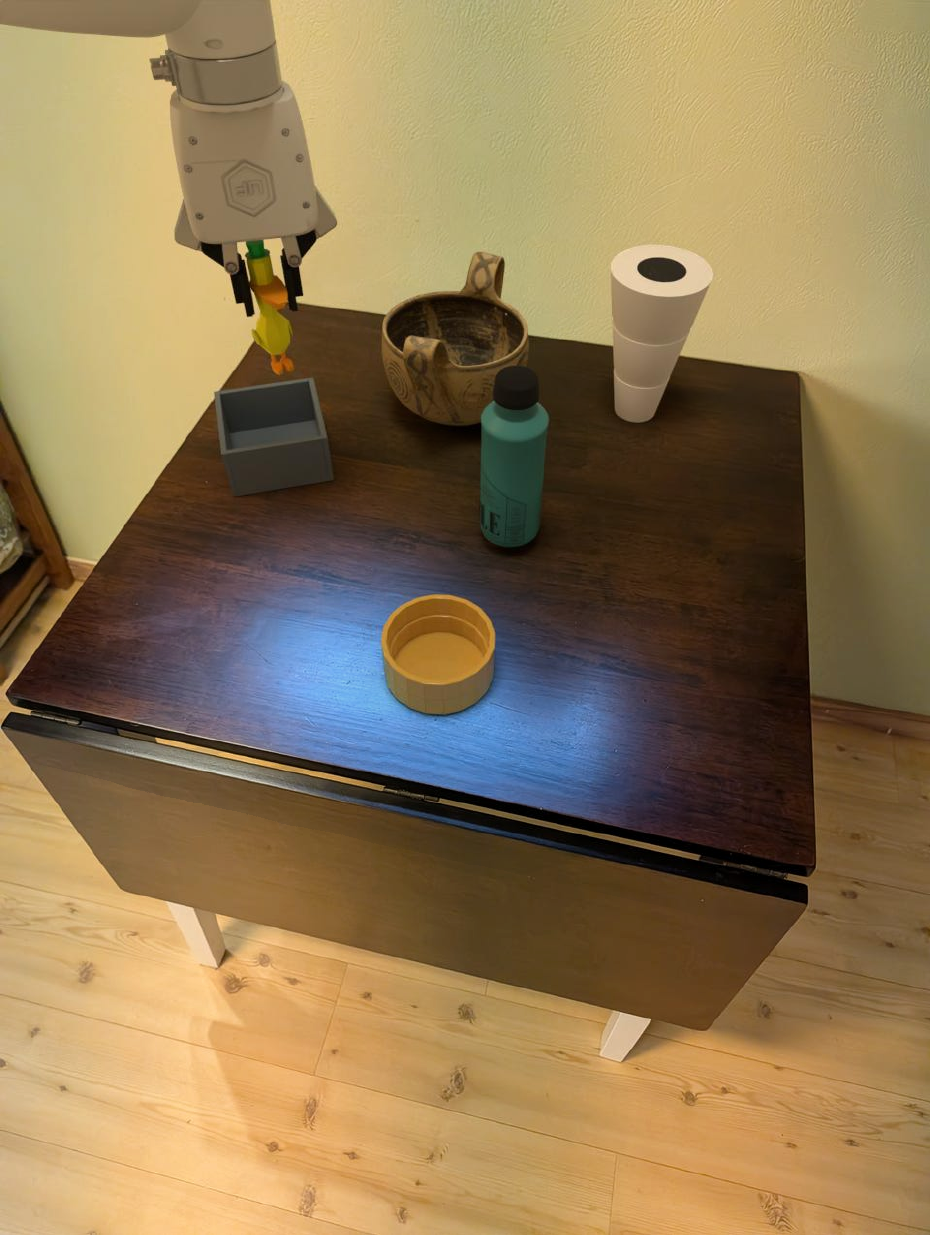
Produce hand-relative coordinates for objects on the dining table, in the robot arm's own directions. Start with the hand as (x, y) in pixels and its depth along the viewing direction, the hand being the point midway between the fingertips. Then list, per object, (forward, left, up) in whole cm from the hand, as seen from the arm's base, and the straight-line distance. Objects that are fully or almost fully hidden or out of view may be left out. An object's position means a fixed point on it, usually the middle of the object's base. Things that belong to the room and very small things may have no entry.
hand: (270, 304), depth 75 cm
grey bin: (-2, +8, -23) cm, 24 cm away
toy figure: (0, 0, -7) cm, 7 cm away
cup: (+41, +6, -23) cm, 47 cm away
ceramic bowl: (+20, +12, -23) cm, 33 cm away
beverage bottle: (+20, -11, -23) cm, 32 cm away
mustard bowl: (+9, -26, -23) cm, 36 cm away
